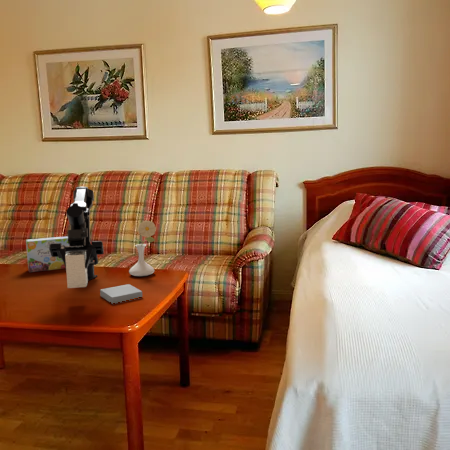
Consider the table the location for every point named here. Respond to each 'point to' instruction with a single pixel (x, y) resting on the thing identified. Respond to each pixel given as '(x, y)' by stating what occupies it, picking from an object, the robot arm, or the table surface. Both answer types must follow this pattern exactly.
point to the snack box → (44, 254)
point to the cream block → (76, 269)
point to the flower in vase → (141, 266)
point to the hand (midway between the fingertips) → (76, 268)
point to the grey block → (120, 293)
